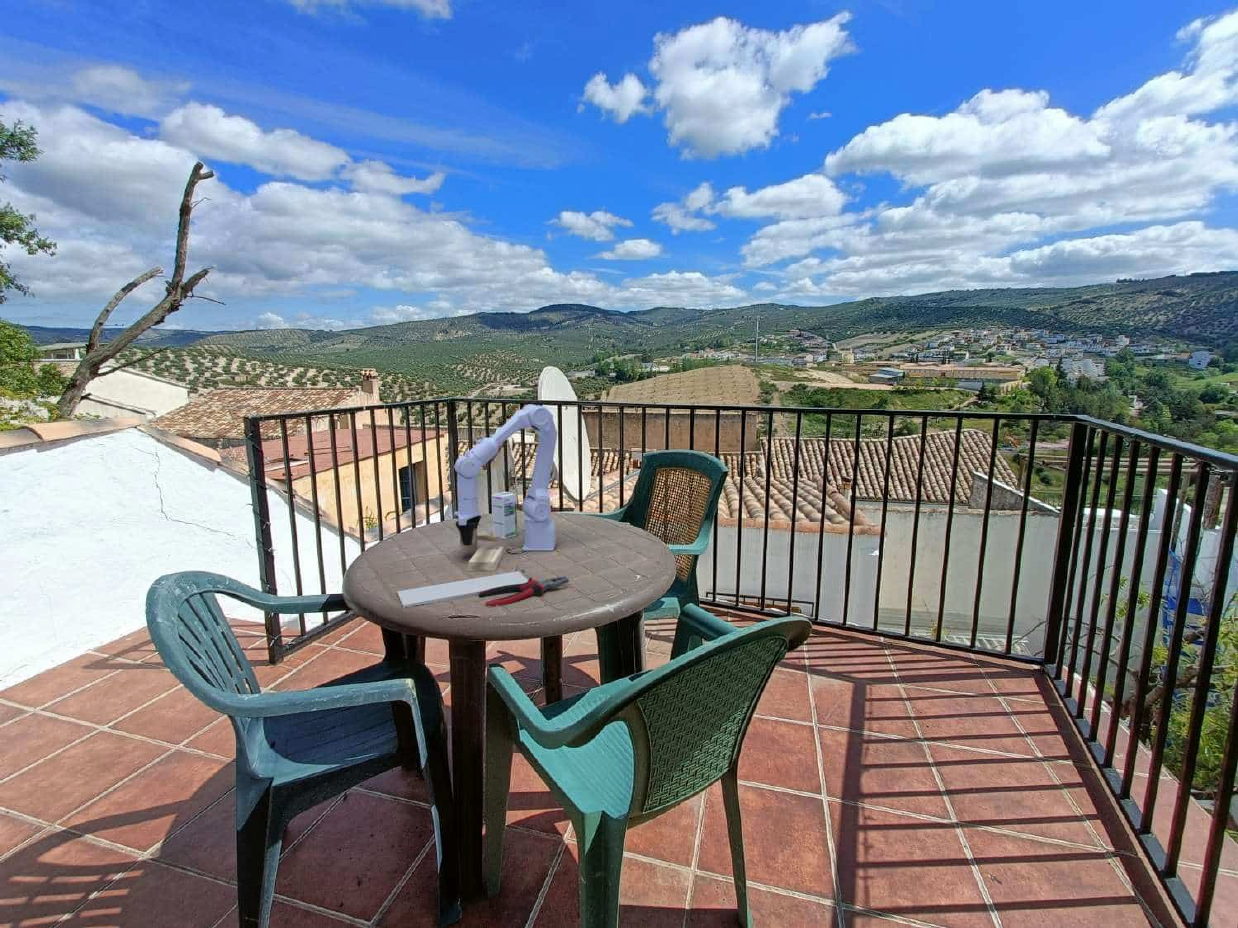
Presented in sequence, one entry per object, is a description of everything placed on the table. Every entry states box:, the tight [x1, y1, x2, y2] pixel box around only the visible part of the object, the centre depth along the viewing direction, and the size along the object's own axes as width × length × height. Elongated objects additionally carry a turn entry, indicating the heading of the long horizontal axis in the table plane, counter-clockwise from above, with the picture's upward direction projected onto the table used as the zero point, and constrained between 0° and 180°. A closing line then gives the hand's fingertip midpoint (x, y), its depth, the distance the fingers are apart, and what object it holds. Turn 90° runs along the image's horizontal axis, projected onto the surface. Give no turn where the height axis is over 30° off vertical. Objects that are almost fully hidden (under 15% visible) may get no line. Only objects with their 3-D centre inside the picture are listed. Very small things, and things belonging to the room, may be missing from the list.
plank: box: [468, 546, 505, 572], centre depth 163 cm, size 7×14×2 cm, turn 1°
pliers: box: [477, 575, 569, 607], centre depth 141 cm, size 3×9×22 cm
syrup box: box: [491, 491, 518, 540], centre depth 189 cm, size 6×6×14 cm
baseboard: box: [396, 566, 530, 609], centre depth 144 cm, size 31×3×12 cm
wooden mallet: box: [459, 527, 501, 553], centre depth 168 cm, size 11×4×6 cm, turn 91°
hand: (469, 542), depth 168 cm, fingers closed on wooden mallet, 4 cm apart
